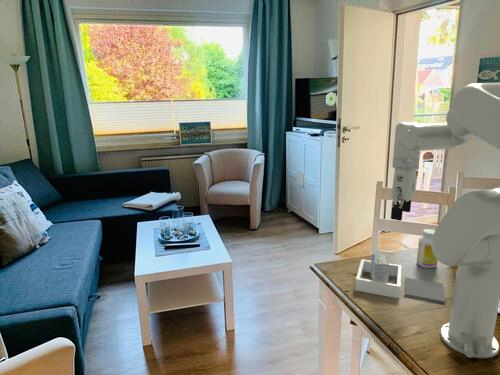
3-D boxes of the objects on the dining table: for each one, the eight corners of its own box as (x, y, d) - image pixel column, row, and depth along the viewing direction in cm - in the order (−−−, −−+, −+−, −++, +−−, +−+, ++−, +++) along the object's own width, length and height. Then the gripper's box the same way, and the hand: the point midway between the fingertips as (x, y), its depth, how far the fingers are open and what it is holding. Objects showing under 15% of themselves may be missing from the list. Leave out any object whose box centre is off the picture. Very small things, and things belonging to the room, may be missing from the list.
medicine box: (387, 289, 116) (389, 265, 113) (372, 288, 116) (374, 263, 114) (383, 277, 123) (385, 254, 121) (370, 276, 124) (371, 253, 122)
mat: (445, 303, 108) (445, 301, 107) (404, 296, 112) (404, 293, 112) (442, 285, 117) (442, 283, 117) (405, 279, 122) (405, 277, 121)
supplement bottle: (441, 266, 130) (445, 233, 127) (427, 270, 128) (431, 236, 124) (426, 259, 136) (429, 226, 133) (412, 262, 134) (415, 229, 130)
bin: (399, 298, 111) (400, 286, 110) (355, 290, 116) (355, 278, 115) (400, 276, 124) (401, 265, 123) (360, 269, 129) (361, 259, 128)
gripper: (411, 169, 103) (405, 225, 108) (425, 159, 117) (419, 210, 121) (384, 166, 108) (380, 220, 112) (400, 157, 121) (396, 206, 126)
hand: (400, 215), depth 117 cm, fingers open, 9 cm apart
